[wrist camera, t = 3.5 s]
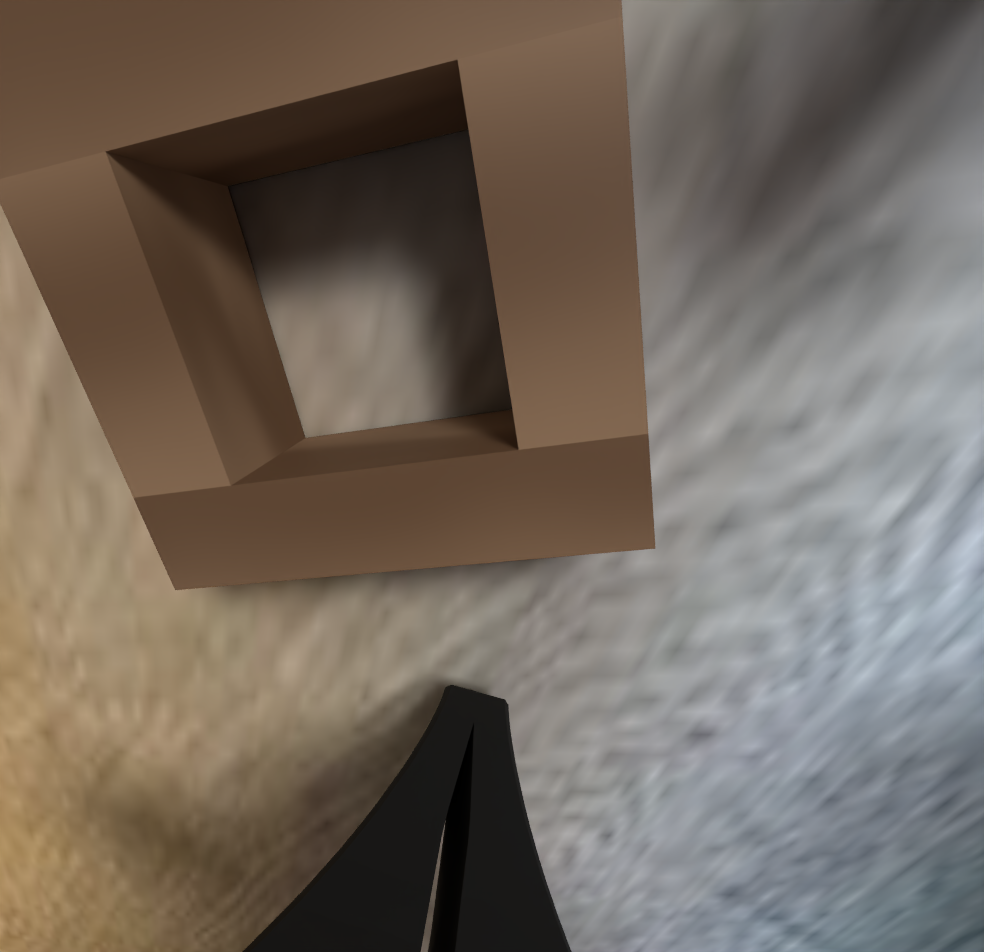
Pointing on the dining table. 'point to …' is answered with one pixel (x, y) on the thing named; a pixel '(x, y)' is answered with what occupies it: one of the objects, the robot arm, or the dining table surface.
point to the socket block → (237, 299)
